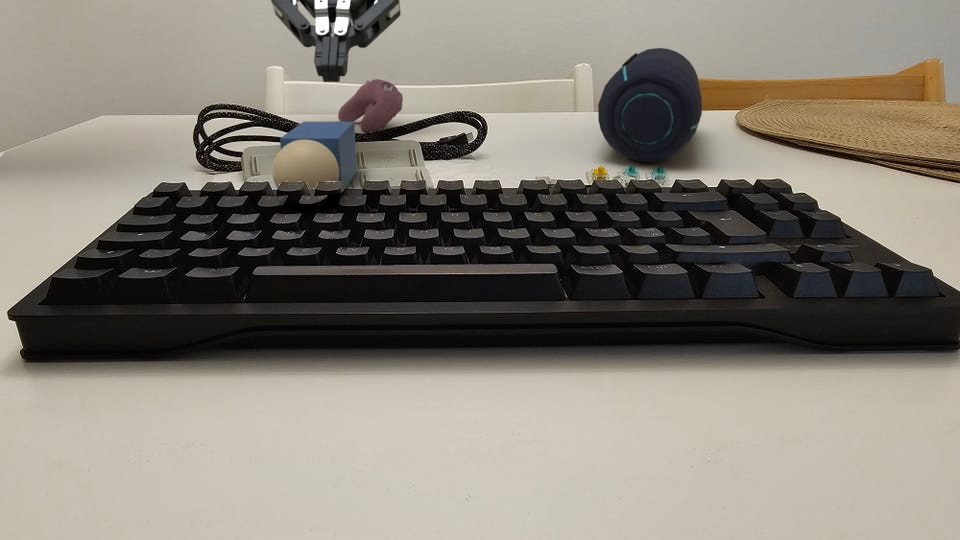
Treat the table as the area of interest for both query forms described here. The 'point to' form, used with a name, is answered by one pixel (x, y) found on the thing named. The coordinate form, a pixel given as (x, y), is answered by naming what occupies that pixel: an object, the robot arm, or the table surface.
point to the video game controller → (372, 105)
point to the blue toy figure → (317, 154)
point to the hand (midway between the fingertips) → (330, 76)
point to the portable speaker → (651, 105)
